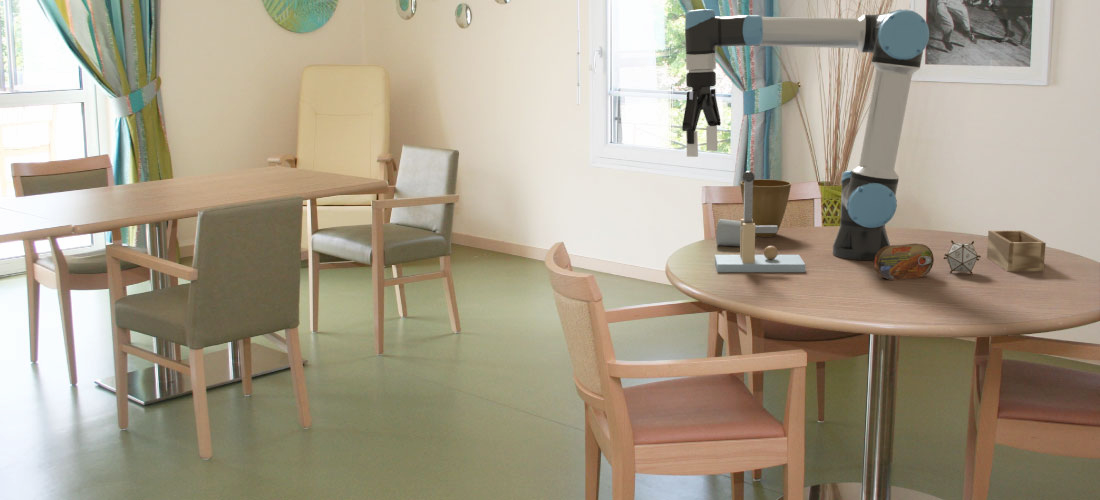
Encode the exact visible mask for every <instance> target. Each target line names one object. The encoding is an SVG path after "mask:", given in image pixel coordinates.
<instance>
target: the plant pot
mask: <svg viewBox="0 0 1100 500" xmlns="http://www.w3.org/2000/svg"><path fill="white" fill-rule="evenodd" d="M739 183H740V192H741V198H742V199H741V200H742V205H743V207H744V181H743V180H741V181H740V182H739ZM791 187H792V183H791V182H790V181H787V180H781V179H780V180H779V179H767V178H766V179H765V178H764V179H763V178H758V179H757V178H755V180H754V181H753V205H752V219H753V223H755V225H777V226H778V231H779V230H780V227H781V224H782V221H783V219H784V216H785V213H786V210H787V206H788V202H789V199H790V192H791ZM777 234H778V233H755V237H759V238H760V237H761V238H771V237H775V236H777Z"/></svg>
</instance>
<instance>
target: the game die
mask: <svg viewBox="0 0 1100 500" xmlns="http://www.w3.org/2000/svg"><path fill="white" fill-rule="evenodd" d="M950 242H951V246H950V248H949V250H948V252H947V253H945V254H944V257H943V259H944V260H946V261H947V263H948V265H949V268H950V271H949V274H952V273H953V272H963V273H965V272H966V273H967V272H968V273H970V275H973V274H974V273H973V269H974V267H975V266H976V265H975V264H976V263H977V261H980V258H981V257H982V256H981V255H978V254H977V251H976V249H975V247H974V244H975V240H972V241H971V242H969V243H968V242H967V243H966V242H965V243H964V242H954V241H953V239H951V240H950Z"/></svg>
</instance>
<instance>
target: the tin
mask: <svg viewBox="0 0 1100 500" xmlns="http://www.w3.org/2000/svg"><path fill="white" fill-rule="evenodd" d="M934 260H935V258H934V253H933V251H932V250H931V248H930V247H928V245H926V244H924V243H923V244H922V243H906V244H896V245H893V244H892V245H890V246H885V247H883V248H881V249H880V250H879V251H878V252H877V254H876V255H875V259H874V261H873V266H874V270H875V272H876V274H877V275H878V276H880V277H881V278H883V279H886V280H889V281H897V280H906V279H907V280H908V279H919V278H923V277H925V276H927V275H928V274H929V273H930V271H931V270H932V268H933V266H934V263H935V262H934Z"/></svg>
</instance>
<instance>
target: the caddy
mask: <svg viewBox="0 0 1100 500" xmlns="http://www.w3.org/2000/svg"><path fill="white" fill-rule="evenodd" d="M987 234H988V235H987V249H986V258H987V259H988V260H990V261H992V262H993V263H995V264H996V265H997V266H999V267H1000V268H1001V269H1003V270H1005V271H1007V272H1044V271H1045V270H1044V269H1045V268H1044V267H1045V266H1044V265H1045V255H1046V244H1047V243H1046V242H1044V241H1043V240H1041V239H1039V238H1037V237H1035V236H1033V235H1032V234H1030V233H1028V232H1026V231H1025V230H988V233H987Z"/></svg>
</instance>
